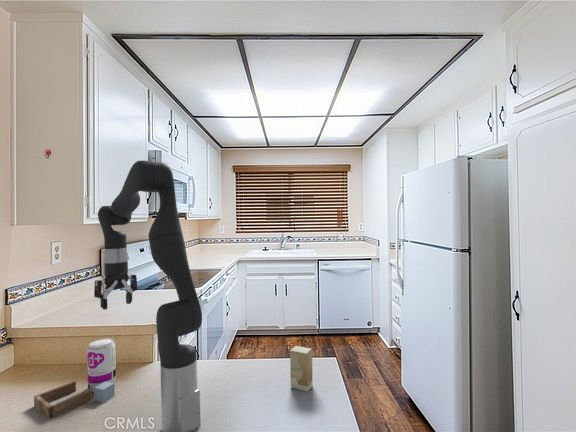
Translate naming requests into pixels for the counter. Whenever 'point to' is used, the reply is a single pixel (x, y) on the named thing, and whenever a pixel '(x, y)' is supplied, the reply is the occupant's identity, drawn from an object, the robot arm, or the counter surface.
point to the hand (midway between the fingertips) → (117, 306)
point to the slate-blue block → (104, 391)
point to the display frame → (65, 405)
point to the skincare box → (301, 368)
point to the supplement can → (101, 363)
